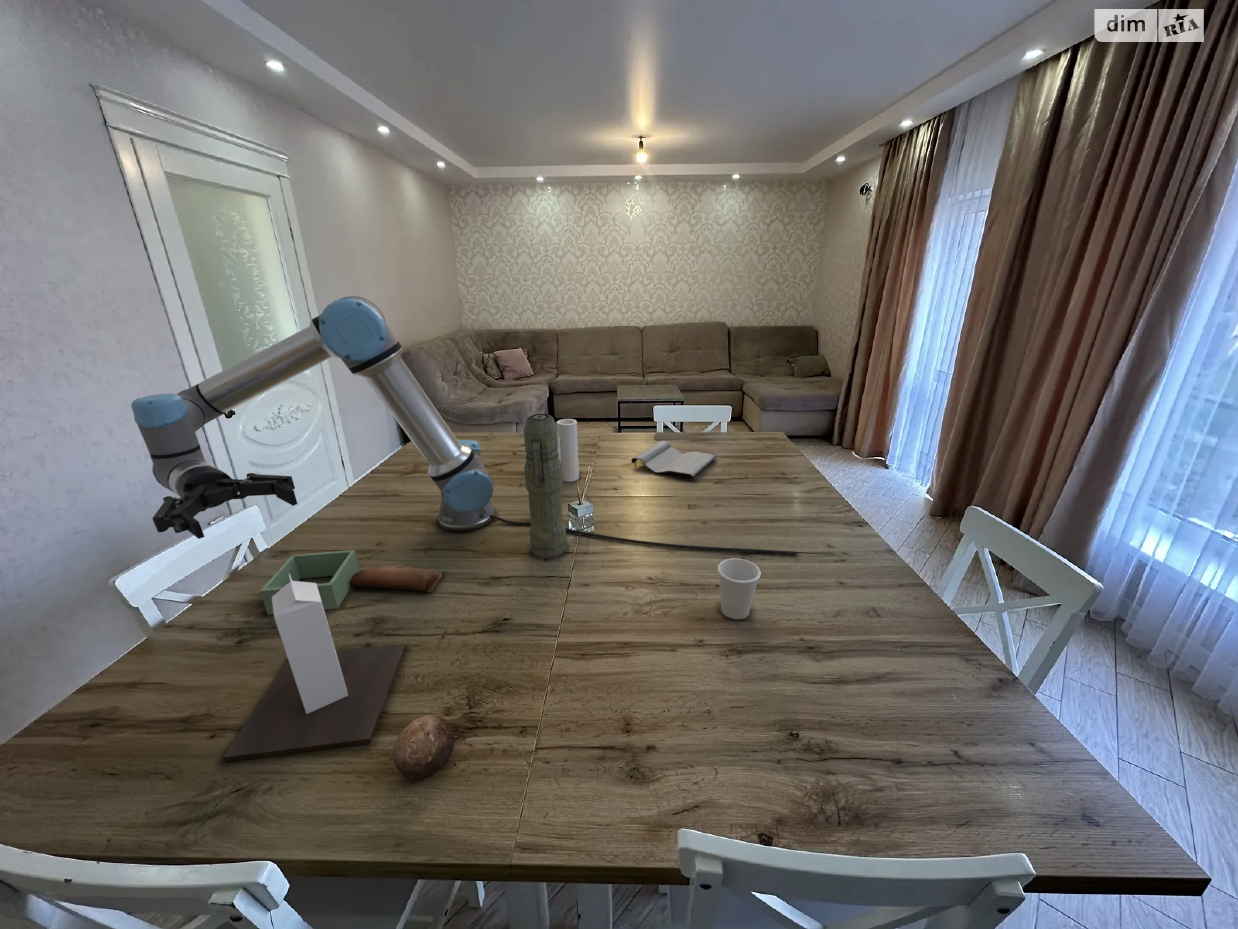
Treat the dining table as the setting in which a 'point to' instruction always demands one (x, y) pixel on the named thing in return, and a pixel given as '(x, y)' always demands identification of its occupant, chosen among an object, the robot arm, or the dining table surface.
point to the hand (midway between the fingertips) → (249, 513)
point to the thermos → (544, 486)
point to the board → (335, 725)
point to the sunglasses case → (396, 578)
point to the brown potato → (423, 746)
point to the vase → (568, 449)
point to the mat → (673, 459)
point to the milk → (308, 644)
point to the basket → (315, 566)
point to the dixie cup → (737, 586)
